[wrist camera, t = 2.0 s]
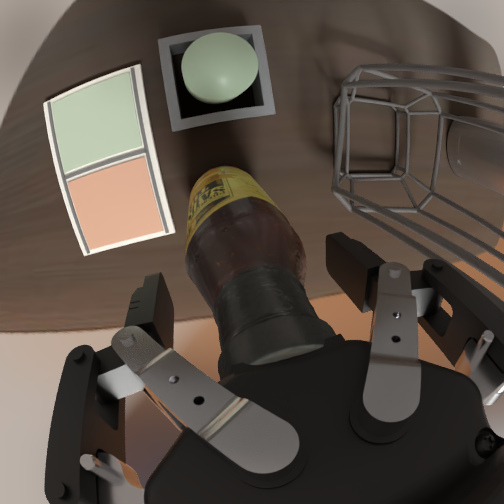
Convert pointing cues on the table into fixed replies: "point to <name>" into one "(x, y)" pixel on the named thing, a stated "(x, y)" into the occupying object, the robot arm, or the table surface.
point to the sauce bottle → (249, 271)
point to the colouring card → (108, 162)
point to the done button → (219, 67)
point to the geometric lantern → (390, 211)
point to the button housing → (262, 108)
